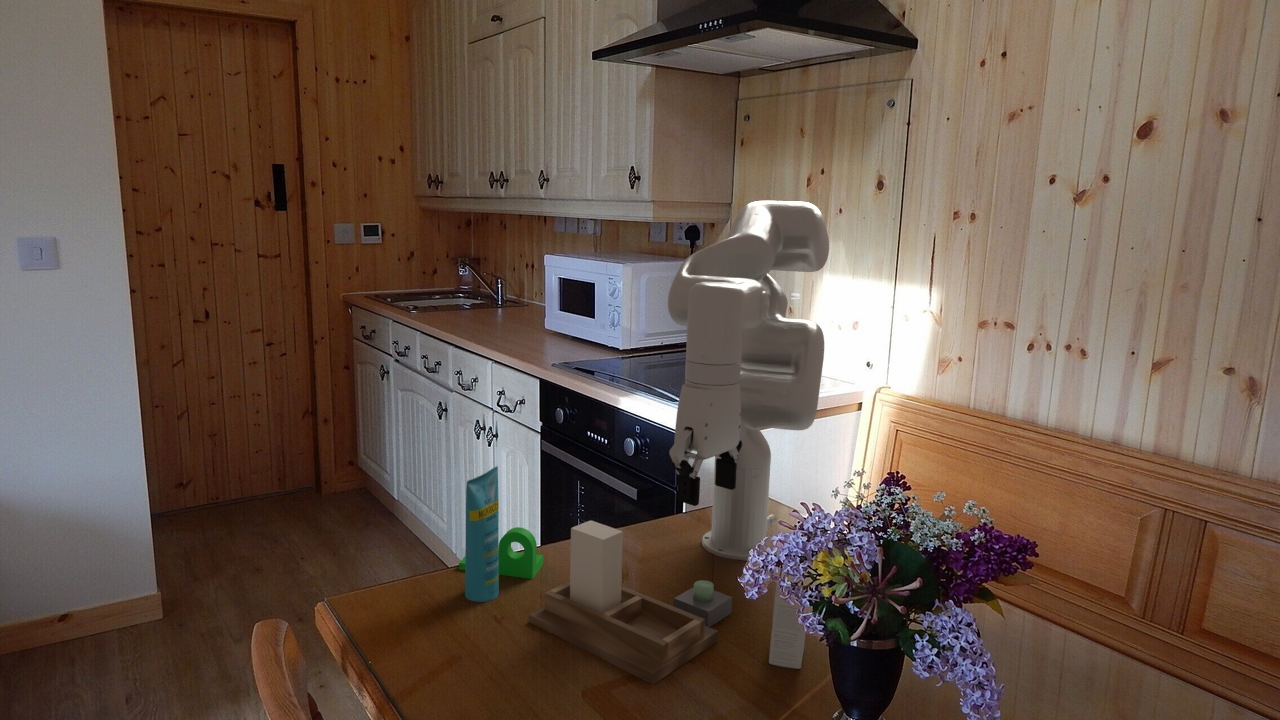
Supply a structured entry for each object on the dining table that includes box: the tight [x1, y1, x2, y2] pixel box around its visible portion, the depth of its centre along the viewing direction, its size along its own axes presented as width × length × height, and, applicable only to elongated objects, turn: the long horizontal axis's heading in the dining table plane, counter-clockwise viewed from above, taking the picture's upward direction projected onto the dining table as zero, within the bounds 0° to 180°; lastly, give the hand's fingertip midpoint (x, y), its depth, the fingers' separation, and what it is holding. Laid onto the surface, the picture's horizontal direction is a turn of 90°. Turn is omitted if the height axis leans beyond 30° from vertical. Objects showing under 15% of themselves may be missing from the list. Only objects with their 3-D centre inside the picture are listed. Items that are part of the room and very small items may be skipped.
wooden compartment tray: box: [528, 580, 719, 685], centre depth 113 cm, size 14×22×4 cm, turn 51°
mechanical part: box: [458, 526, 545, 580], centre depth 131 cm, size 12×6×8 cm, turn 80°
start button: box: [693, 579, 714, 602], centre depth 119 cm, size 3×3×2 cm
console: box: [673, 586, 733, 628], centre depth 119 cm, size 6×6×2 cm
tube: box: [464, 465, 500, 603], centre depth 120 cm, size 7×5×19 cm, turn 161°
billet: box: [569, 519, 624, 613], centre depth 115 cm, size 4×6×12 cm, turn 51°
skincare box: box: [768, 581, 806, 670], centre depth 107 cm, size 6×4×12 cm
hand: (707, 494), depth 116 cm, fingers open, 8 cm apart
